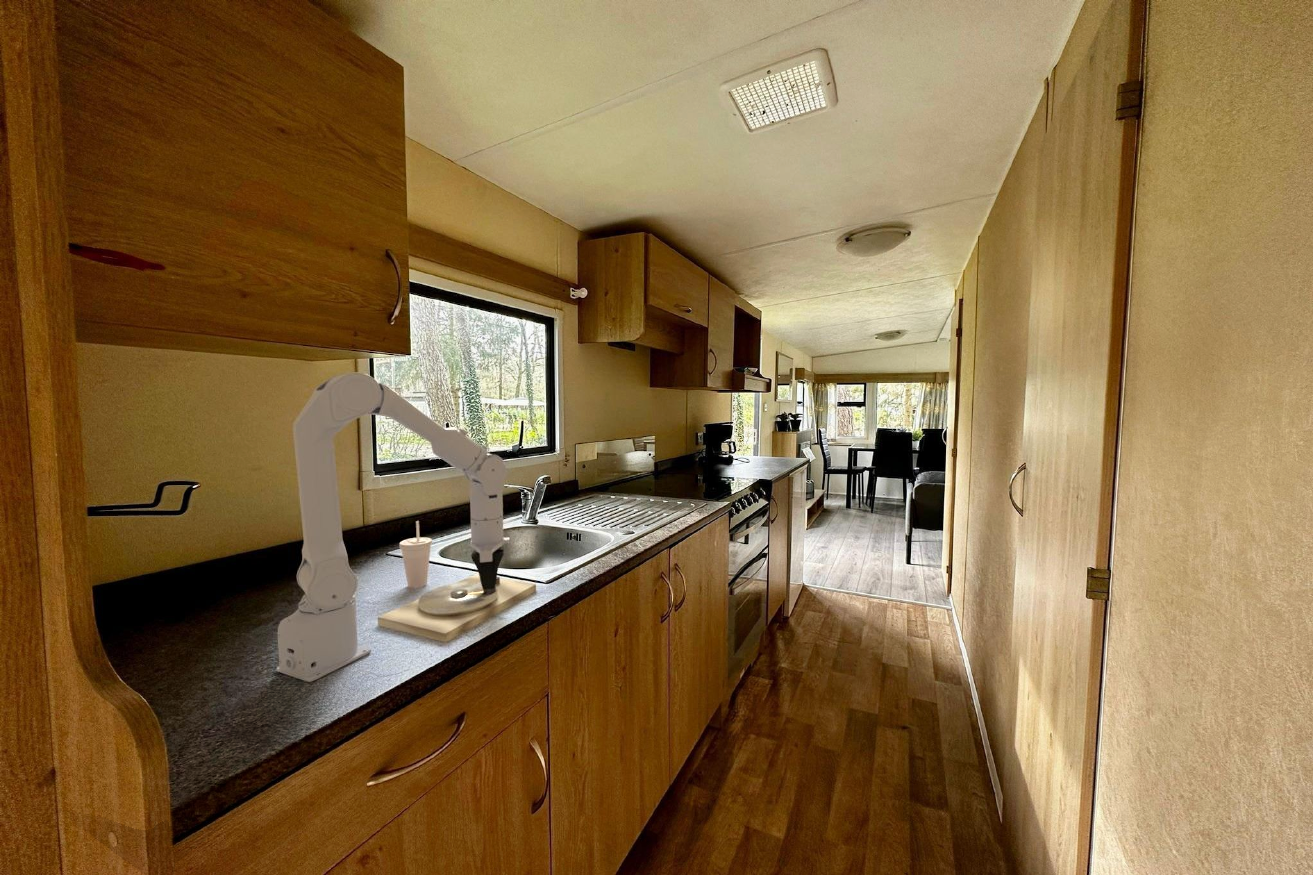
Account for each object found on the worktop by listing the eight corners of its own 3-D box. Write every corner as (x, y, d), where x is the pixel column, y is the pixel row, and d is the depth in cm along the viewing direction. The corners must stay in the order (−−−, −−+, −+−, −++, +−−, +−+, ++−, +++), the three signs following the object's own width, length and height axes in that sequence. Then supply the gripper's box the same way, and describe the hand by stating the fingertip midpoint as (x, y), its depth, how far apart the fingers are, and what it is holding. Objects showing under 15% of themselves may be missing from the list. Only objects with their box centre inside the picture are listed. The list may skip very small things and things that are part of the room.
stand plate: (445, 642, 81) (445, 626, 81) (377, 625, 87) (377, 610, 87) (535, 591, 103) (535, 578, 103) (476, 580, 109) (476, 568, 109)
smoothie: (420, 591, 103) (418, 525, 102) (393, 589, 104) (391, 524, 103) (440, 580, 109) (437, 518, 108) (414, 578, 110) (412, 517, 109)
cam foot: (412, 620, 85) (411, 590, 85) (425, 590, 99) (424, 565, 98) (497, 610, 89) (496, 581, 89) (498, 583, 103) (497, 558, 102)
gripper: (509, 524, 86) (511, 600, 87) (509, 507, 100) (510, 573, 101) (466, 527, 84) (468, 604, 85) (472, 510, 98) (474, 576, 99)
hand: (488, 588), depth 93 cm, fingers closed
